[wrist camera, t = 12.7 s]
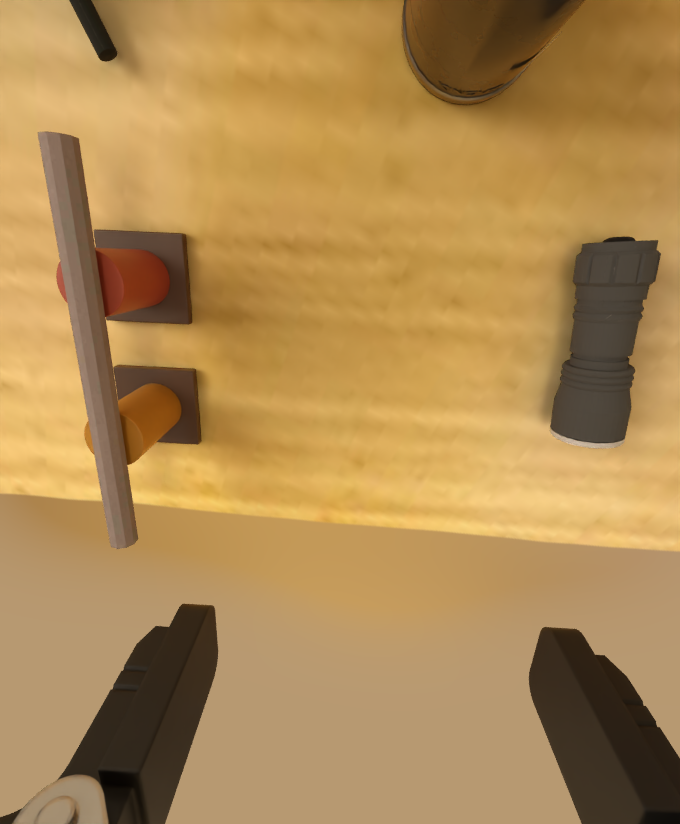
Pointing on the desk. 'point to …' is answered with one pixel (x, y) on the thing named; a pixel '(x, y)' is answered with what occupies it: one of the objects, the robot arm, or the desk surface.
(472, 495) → the desk surface
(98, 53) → the handheld radio
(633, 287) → the flashlight
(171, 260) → the red peg stand
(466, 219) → the desk surface
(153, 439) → the ochre post
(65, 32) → the desk surface
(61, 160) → the metal rod
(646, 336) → the desk surface
